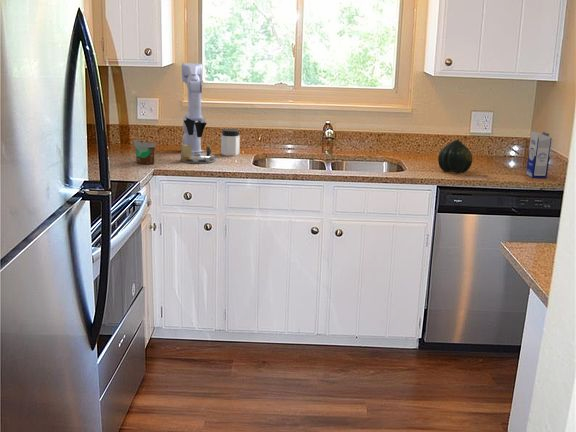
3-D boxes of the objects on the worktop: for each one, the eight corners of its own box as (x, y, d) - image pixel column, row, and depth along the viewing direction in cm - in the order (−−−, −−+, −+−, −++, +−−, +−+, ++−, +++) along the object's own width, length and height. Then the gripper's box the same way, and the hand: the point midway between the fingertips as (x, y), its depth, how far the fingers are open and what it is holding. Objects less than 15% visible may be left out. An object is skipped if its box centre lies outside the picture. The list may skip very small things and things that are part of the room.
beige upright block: (181, 155, 301) (181, 144, 299) (188, 155, 303) (188, 143, 301) (184, 156, 298) (184, 145, 297) (191, 156, 300) (191, 145, 298)
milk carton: (525, 174, 297) (531, 130, 292) (540, 174, 297) (546, 130, 292) (532, 178, 290) (538, 132, 285) (546, 178, 290) (553, 133, 285)
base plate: (174, 159, 305) (173, 158, 305) (202, 156, 315) (202, 155, 315) (192, 165, 294) (192, 164, 294) (222, 161, 304) (222, 160, 304)
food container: (128, 162, 296) (127, 140, 293) (139, 160, 300) (139, 138, 297) (144, 166, 288) (143, 143, 285) (156, 164, 292) (155, 142, 289)
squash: (451, 164, 285) (469, 137, 288) (427, 159, 298) (444, 134, 300) (466, 183, 293) (484, 157, 296) (442, 178, 306) (459, 153, 308)
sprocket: (184, 155, 312) (184, 143, 310) (216, 156, 312) (216, 144, 310) (178, 161, 297) (178, 148, 296) (212, 162, 297) (212, 150, 295)
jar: (242, 155, 321) (242, 130, 318) (228, 156, 316) (228, 131, 313) (232, 152, 328) (232, 128, 325) (218, 153, 323) (218, 129, 320)
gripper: (210, 108, 304) (210, 137, 308) (193, 105, 315) (193, 133, 318) (197, 109, 300) (198, 138, 303) (181, 105, 310) (181, 134, 314)
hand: (195, 136), depth 311 cm, fingers open, 7 cm apart
